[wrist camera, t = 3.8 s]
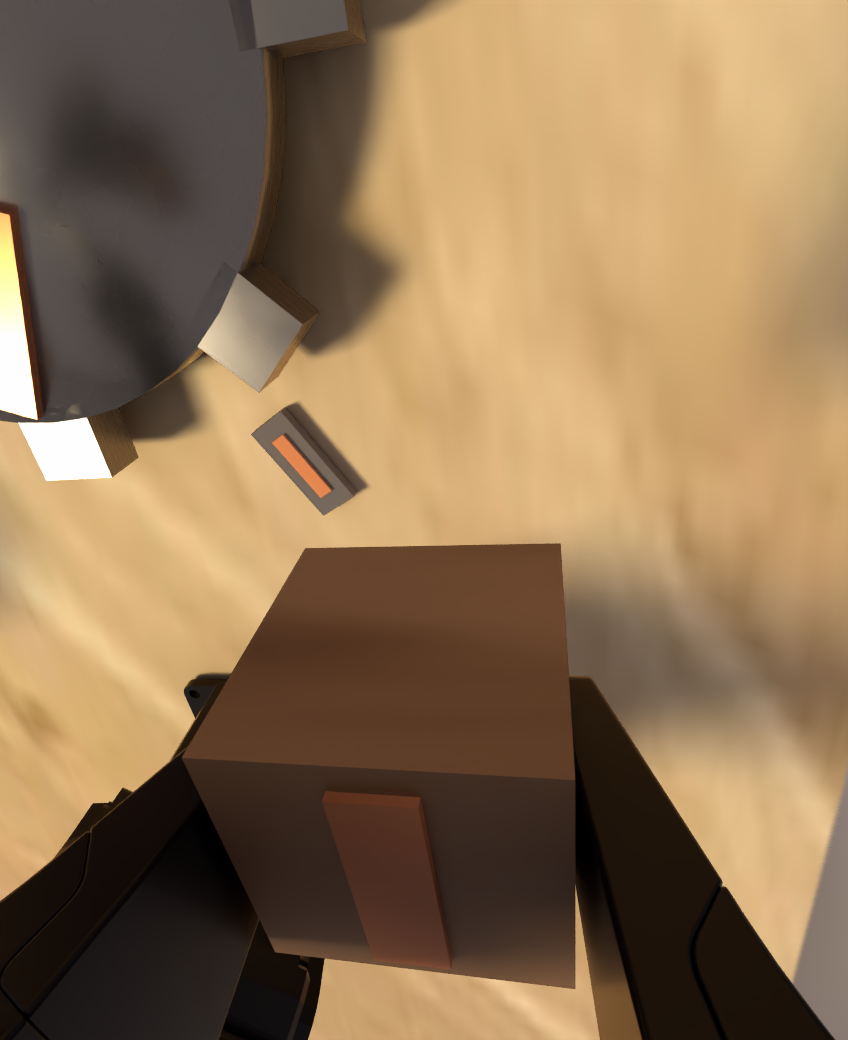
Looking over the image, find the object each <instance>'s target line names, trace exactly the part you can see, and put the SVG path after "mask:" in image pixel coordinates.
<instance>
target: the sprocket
mask: <svg viewBox="0 0 848 1040" xmlns="http://www.w3.org/2000/svg"><path fill="white" fill-rule="evenodd" d="M363 42H366V40H365V33H364V25H363V18H362V11H361V4H360V0H0V420H1V421H8V422H16V423H19V425H20V427H21V429H22V431H23V433H24V435H25V437H26V439H27V441H28V443H29V445H30V447H31V449H32V451H33V454H34V456H35V458H36V460H37V462H38V464H39V466H40V468H41V470H42V472H43V474H44V476H45V478H46V480H47V481H49V480H70V479H90V478H110V477H113V476H114V475H116V474H117V473H118V472H120V471H121V470H122V469H124V468H125V467H126V466H128V465H129V464H130V463H132V462H133V461H134V460H136V459H137V458H138V455H137V452H136V450H135V447H134V445H133V442H132V440H131V437H130V435H129V432H128V430H127V427H126V424H125V422H124V419H123V417H122V414H121V412H120V409H119V407H120V406H122V405H124V404H126V403H128V402H130V401H132V400H134V399H136V398H138V397H140V396H142V395H144V394H145V393H147V392H149V391H151V390H152V389H154V388H156V387H157V386H159V385H160V384H162V383H164V382H165V381H167V380H169V379H170V378H172V377H174V376H175V375H176V374H177V373H179V372H180V371H181V370H183V369H184V368H185V367H187V366H188V365H189V364H191V363H192V362H193V361H195V360H196V359H197V358H198V357H200V355H201V354H202V353H203V352H206V353H207V354H208V355H210V356H211V357H212V358H213V359H215V360H216V361H217V362H219V363H220V364H221V365H223V366H224V367H225V368H227V369H228V370H229V371H231V372H232V373H233V374H235V375H236V376H237V377H239V378H240V379H241V380H243V381H244V382H245V383H247V384H248V385H249V386H251V387H252V388H253V389H255V390H256V391H257V392H260V391H262V390H263V389H264V388H265V387H266V386H267V385H269V384H270V383H271V382H272V381H273V380H274V379H276V378H277V377H278V376H279V374H280V373H281V371H282V370H283V368H284V367H285V365H286V364H287V362H288V361H289V359H290V358H291V356H292V355H293V353H294V351H295V350H296V348H297V347H298V345H299V344H300V342H301V341H302V339H303V338H304V336H305V335H306V333H307V331H308V330H309V328H310V327H311V325H312V324H313V322H314V321H315V319H316V318H317V316H318V315H319V313H320V311H319V310H317V309H316V308H315V307H314V306H312V305H311V304H310V303H309V302H308V301H306V300H305V299H304V298H303V297H301V296H300V295H299V294H298V293H296V292H295V291H294V290H293V289H291V288H290V287H289V286H288V285H286V284H285V283H284V282H283V281H281V280H280V279H279V278H278V277H277V276H275V275H274V274H273V273H272V272H270V271H269V270H268V269H267V268H265V267H264V266H263V265H262V264H261V261H262V258H263V254H264V251H265V248H266V245H267V242H268V239H269V235H270V232H271V229H272V226H273V223H274V218H275V212H276V207H277V201H278V195H279V190H280V184H281V179H282V173H283V158H284V142H285V126H286V105H285V82H284V59H283V58H286V57H291V56H296V55H302V54H307V53H312V52H317V51H322V50H327V49H332V48H337V47H343V46H348V45H353V44H358V43H363Z"/></svg>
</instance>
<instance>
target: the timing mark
mask: <svg viewBox="0 0 848 1040" xmlns="http://www.w3.org/2000/svg"><path fill="white" fill-rule="evenodd" d="M251 435H252V436H253V437H254V438H255V439H256V440H257V442H258V443H259V444H260V445H261V446H262V447H263V448H264V449H265V451H266V452H267V453H268V454H269V455H270V456H271V457H272V458H273V460H274V461H275V462H276V463H277V464H278V465H279V466H280V467H281V469H282V470H283V471H284V472H285V473H286V474H287V475H288V476H289V478H290V479H291V480H292V481H293V482H294V483H295V484H296V485H297V486H298V488H299V489H300V490H301V491H302V492H303V493H304V494H305V495H306V497H307V498H308V499H309V500H310V501H311V502H312V503H313V504H314V506H315V507H316V508H317V509H318V510H319V511H320V512H321V513H322V515H323V516H324V515H325V514H327V513H329V512H330V511H332V510H333V509H335V508H336V507H338V506H340V505H341V504H343V503H344V502H346V501H347V500H349V499H350V498H352V497H354V495H355V493H356V490H355V489H354V487H353V486H352V485H351V484H350V483H349V481H348V480H347V479H346V478H345V477H344V476H343V474H342V473H341V472H340V471H339V470H338V469H337V467H336V466H335V465H334V464H333V463H332V462H331V460H330V459H329V458H328V457H327V456H326V454H325V453H324V452H323V451H322V450H321V449H320V447H319V446H318V445H317V444H316V443H315V442H314V440H313V439H312V438H311V437H310V436H309V435H308V433H307V432H306V431H305V430H304V429H303V427H302V426H301V425H300V424H299V423H298V422H297V420H296V419H295V418H294V417H293V416H292V415H291V413H290V412H289V411H288V410H287V409H286V407H285V408H283V409H282V410H281V411H279V412H278V413H277V414H276V415H274V416H273V417H272V418H270V419H269V420H268V421H267V422H265V423H264V424H263V425H261V426H260V427H259V428H258V429H256V430H255V431H254V432H253V433H252V434H251Z"/></svg>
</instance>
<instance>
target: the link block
mask: <svg viewBox="0 0 848 1040" xmlns="http://www.w3.org/2000/svg"><path fill="white" fill-rule="evenodd" d="M182 760H183V762H184V764H185V766H186V768H187V770H188V772H189V774H190V776H191V778H192V780H193V782H194V785H195V787H196V789H197V791H198V793H199V795H200V797H201V799H202V801H203V803H204V805H205V807H206V809H207V812H208V814H209V816H210V818H211V820H212V822H213V824H214V826H215V828H216V830H217V832H218V834H219V836H220V839H221V841H222V843H223V845H224V847H225V849H226V851H227V853H228V855H229V857H230V859H231V861H232V863H233V866H234V868H235V870H236V872H237V874H238V876H239V878H240V880H241V882H242V884H243V886H244V888H245V890H246V893H247V895H248V897H249V899H250V901H251V903H252V905H253V907H254V909H255V911H256V913H257V915H258V917H259V920H260V922H261V924H262V926H263V928H264V930H265V932H266V934H267V936H268V938H269V940H270V942H271V944H272V947H273V949H274V951H275V952H277V953H286V954H294V955H302V956H310V957H318V958H326V959H334V960H343V961H351V962H359V963H367V964H375V965H383V966H391V967H399V968H408V969H416V970H424V971H432V972H440V973H448V974H456V975H465V976H473V977H481V978H489V979H497V980H505V981H513V982H522V983H530V984H538V985H546V986H554V987H562V988H570V989H575V767H574V751H573V735H572V719H571V703H570V687H569V671H568V655H567V639H566V623H565V607H564V591H563V575H562V560H561V544H509V545H456V546H403V547H349V548H305V550H304V551H303V553H302V555H301V556H300V558H299V560H298V562H297V563H296V565H295V567H294V568H293V570H292V572H291V573H290V575H289V577H288V578H287V580H286V582H285V584H284V585H283V587H282V589H281V590H280V592H279V594H278V595H277V597H276V599H275V600H274V602H273V604H272V606H271V607H270V609H269V611H268V612H267V614H266V616H265V617H264V619H263V621H262V623H261V624H260V626H259V628H258V629H257V631H256V633H255V634H254V636H253V638H252V639H251V641H250V643H249V645H248V646H247V648H246V650H245V651H244V653H243V655H242V656H241V658H240V660H239V661H238V663H237V665H236V667H235V668H234V670H233V672H232V673H231V675H230V677H229V678H228V680H227V682H226V683H225V685H224V687H223V689H222V690H221V692H220V694H219V695H218V697H217V699H216V700H215V702H214V704H213V706H212V707H211V709H210V711H209V712H208V714H207V716H206V717H205V719H204V721H203V722H202V724H201V726H200V728H199V729H198V731H197V733H196V734H195V736H194V738H193V739H192V741H191V743H190V744H189V746H188V748H187V750H186V751H185V753H184V755H183V756H182Z"/></svg>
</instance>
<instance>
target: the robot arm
mask: <svg viewBox="0 0 848 1040" xmlns="http://www.w3.org/2000/svg"><path fill="white" fill-rule="evenodd" d="M226 682H227V680H204V679H194V680H191V681H189V683H188V684H187V686H186V687H185V689H184V694H185V697H186V699H187V701H188V703H189V706H190V708H191V710H192V712H193V714H194V717H195V720H194V722H193V724H192V725H191V727H190V729H189V730H188V732H187V733H186V735H185V737H184V738H183V740H182V742H181V743H180V745H179V747H178V748H177V750H176V752H175V753H174V755H173V757H172V758H171V760H170V762H169V763H167V764H166V765H165V766H164V767H163V768H161V769H160V770H159V771H158V772H157V773H156V774H154V775H153V776H152V777H151V778H150V779H148V780H147V781H146V782H145V783H144V784H142V785H141V786H140V787H139V788H138V789H137V790H135V791H134V792H132V791H130V790H128V789H125V788H122V789H121V791H120V792H119V794H118V795H117V797H116V798H115V799H114V801H113V802H109V803H93V804H92V805H91V807H90V808H89V810H88V811H87V813H86V814H85V816H84V817H83V819H82V820H81V821H80V823H79V824H78V826H77V827H76V829H75V830H74V832H73V833H72V835H71V836H70V837H69V839H68V840H67V842H66V843H65V844H64V846H63V847H62V848H61V850H60V851H59V852H58V854H57V855H56V856H55V857H54V859H53V860H52V861H50V862H49V863H48V864H47V865H45V866H44V867H43V868H42V869H41V870H39V871H38V872H37V873H36V874H34V875H33V876H32V877H31V878H30V879H28V880H27V881H26V882H25V883H23V884H22V885H21V886H19V887H18V888H17V889H15V890H14V891H13V892H11V893H10V894H9V895H8V896H6V897H5V898H4V899H2V900H1V901H0V1040H308V1037H309V1034H310V1031H311V1028H312V1025H313V1021H314V1017H315V1013H316V1009H317V1004H318V999H319V993H320V986H321V979H322V972H323V965H324V959H325V958H318V957H310V956H302V955H294V954H286V953H277V952H275V951H274V949H273V947H272V944H271V942H270V940H269V938H268V936H267V934H266V932H265V930H264V928H263V926H262V924H261V922H260V920H259V917H258V915H257V913H256V911H255V909H254V907H253V905H252V903H251V901H250V899H249V897H248V895H247V893H246V890H245V888H244V886H243V884H242V882H241V880H240V878H239V876H238V874H237V872H236V870H235V868H234V866H233V863H232V861H231V859H230V857H229V855H228V853H227V851H226V849H225V847H224V845H223V843H222V841H221V839H220V836H219V834H218V832H217V830H216V828H215V826H214V824H213V822H212V820H211V818H210V816H209V814H208V812H207V809H206V807H205V805H204V803H203V801H202V799H201V797H200V795H199V793H198V791H197V789H196V787H195V785H194V782H193V780H192V778H191V776H190V774H189V772H188V770H187V768H186V766H185V764H184V762H183V760H182V756H183V755H184V753H185V751H186V750H187V748H188V746H189V744H190V743H191V741H192V739H193V738H194V736H195V734H196V733H197V731H198V729H199V728H200V726H201V724H202V722H203V721H204V719H205V717H206V716H207V714H208V712H209V711H210V709H211V707H212V706H213V704H214V702H215V700H216V699H217V697H218V695H219V694H220V692H221V690H222V689H223V687H224V685H225V683H226ZM569 687H570V703H571V719H572V735H573V751H574V767H575V884H576V891H577V897H578V903H579V910H580V916H581V922H582V928H583V935H584V941H585V947H586V954H587V960H588V966H589V973H590V979H591V985H592V992H593V998H594V1004H595V1010H596V1017H597V1023H598V1029H599V1036H600V1040H835V1039H834V1037H833V1036H832V1035H831V1034H830V1032H829V1031H828V1030H827V1029H826V1027H825V1026H824V1025H823V1023H822V1022H821V1021H820V1020H819V1018H818V1017H817V1016H816V1014H815V1013H814V1012H813V1010H812V1009H811V1008H810V1006H809V1005H808V1004H807V1002H806V1001H805V1000H804V998H803V997H802V996H801V994H800V993H799V992H798V990H797V989H796V988H795V986H794V985H793V984H792V982H791V981H790V980H789V978H788V977H787V976H786V974H785V973H784V972H783V970H782V969H781V968H780V966H779V965H778V964H777V962H776V961H775V959H774V958H773V956H772V955H771V953H770V952H769V950H768V949H767V947H766V946H765V944H764V943H763V941H762V940H761V939H760V937H759V936H758V934H757V933H756V931H755V930H754V928H753V927H752V925H751V924H750V922H749V921H748V919H747V918H746V916H745V915H744V913H743V912H742V910H741V909H740V907H739V906H738V904H737V902H736V901H735V899H734V898H733V896H732V895H731V893H730V892H729V890H728V889H727V888H726V887H724V886H723V887H722V880H721V878H720V877H719V875H718V873H717V872H716V870H715V869H714V867H713V866H712V864H711V863H710V861H709V859H708V858H707V856H706V855H705V853H704V852H703V850H702V849H701V847H700V845H699V844H698V842H697V841H696V839H695V838H694V836H693V835H692V833H691V832H690V830H689V828H688V827H687V825H686V824H685V822H684V821H683V819H682V818H681V816H680V814H679V813H678V811H677V810H676V808H675V807H674V805H673V804H672V802H671V800H670V799H669V797H668V796H667V794H666V793H665V791H664V790H663V788H662V786H661V785H660V783H659V782H658V780H657V779H656V777H655V776H654V774H653V772H652V771H651V769H650V768H649V766H648V765H647V763H646V762H645V760H644V758H643V757H642V755H641V754H640V752H639V751H638V749H637V748H636V746H635V744H634V743H633V741H632V740H631V738H630V737H629V735H628V734H627V732H626V731H625V729H624V727H623V726H622V724H621V723H620V721H619V720H618V718H617V717H616V715H615V713H614V712H613V710H612V709H611V707H610V706H609V704H608V703H607V701H606V699H605V698H604V696H603V695H602V693H601V692H600V690H599V689H598V687H597V685H596V684H595V682H594V681H593V680H592V679H591V678H590V677H588V676H569Z"/></svg>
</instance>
